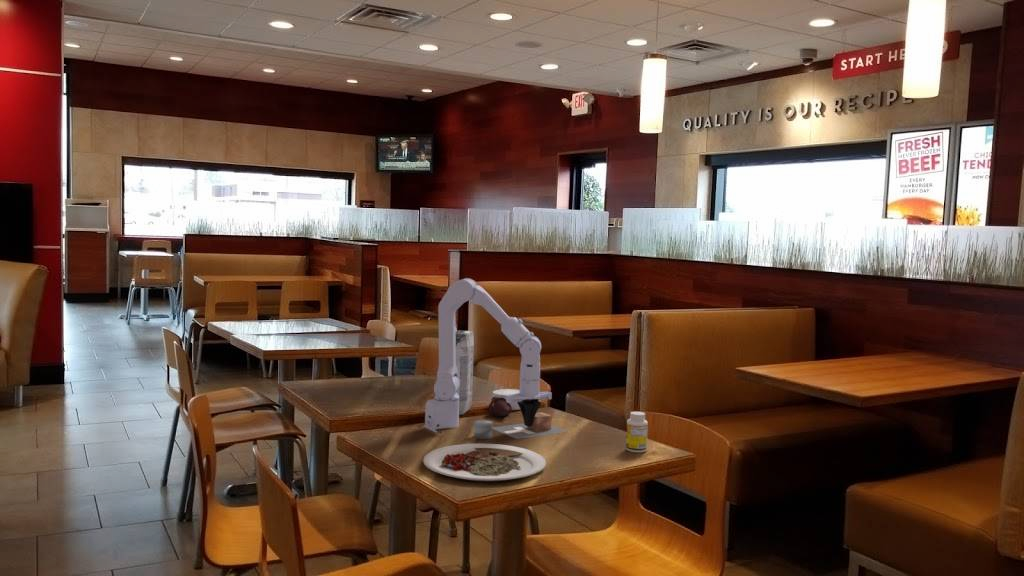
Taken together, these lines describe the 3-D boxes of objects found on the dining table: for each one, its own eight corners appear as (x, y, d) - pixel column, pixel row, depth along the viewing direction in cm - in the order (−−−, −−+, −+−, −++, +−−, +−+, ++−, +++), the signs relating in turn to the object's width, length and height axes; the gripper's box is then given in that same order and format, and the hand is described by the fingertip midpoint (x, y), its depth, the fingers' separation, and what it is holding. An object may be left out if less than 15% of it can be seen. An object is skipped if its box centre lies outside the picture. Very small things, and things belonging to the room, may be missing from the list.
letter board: (516, 442, 216) (516, 438, 216) (489, 430, 228) (489, 427, 228) (568, 435, 226) (568, 431, 226) (540, 424, 237) (540, 421, 237)
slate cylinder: (479, 443, 214) (480, 425, 213) (470, 439, 218) (471, 421, 218) (495, 441, 216) (496, 423, 216) (486, 437, 221) (486, 419, 220)
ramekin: (487, 405, 263) (487, 389, 262) (517, 403, 267) (518, 388, 267) (499, 412, 252) (500, 396, 252) (531, 410, 257) (532, 394, 256)
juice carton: (473, 409, 255) (476, 326, 253) (463, 416, 245) (466, 330, 243) (447, 407, 257) (450, 325, 255) (437, 413, 247) (439, 328, 245)
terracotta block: (536, 431, 225) (537, 417, 225) (527, 427, 229) (527, 413, 229) (551, 429, 228) (551, 415, 228) (541, 425, 232) (541, 412, 232)
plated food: (569, 476, 188) (570, 463, 187) (455, 493, 173) (456, 478, 172) (507, 445, 213) (508, 433, 213) (404, 458, 199) (404, 444, 198)
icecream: (521, 402, 238) (505, 397, 252) (499, 397, 235) (484, 392, 249) (516, 425, 237) (500, 418, 251) (493, 420, 235) (478, 413, 249)
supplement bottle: (628, 446, 216) (630, 409, 215) (648, 449, 213) (650, 412, 213) (623, 451, 210) (624, 413, 210) (643, 454, 208) (645, 416, 207)
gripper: (516, 383, 218) (514, 431, 219) (558, 379, 226) (556, 426, 227) (502, 378, 224) (501, 425, 225) (544, 375, 232) (542, 420, 233)
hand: (528, 425), depth 226 cm, fingers closed
